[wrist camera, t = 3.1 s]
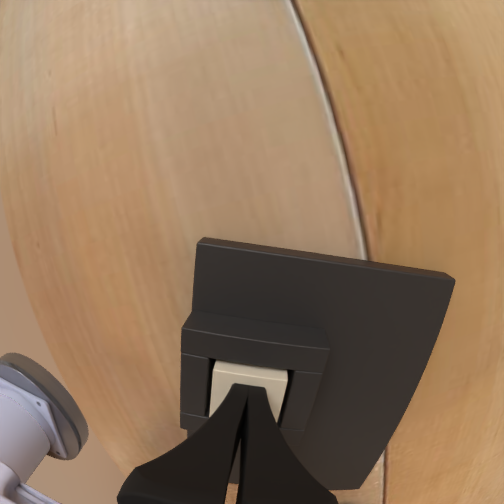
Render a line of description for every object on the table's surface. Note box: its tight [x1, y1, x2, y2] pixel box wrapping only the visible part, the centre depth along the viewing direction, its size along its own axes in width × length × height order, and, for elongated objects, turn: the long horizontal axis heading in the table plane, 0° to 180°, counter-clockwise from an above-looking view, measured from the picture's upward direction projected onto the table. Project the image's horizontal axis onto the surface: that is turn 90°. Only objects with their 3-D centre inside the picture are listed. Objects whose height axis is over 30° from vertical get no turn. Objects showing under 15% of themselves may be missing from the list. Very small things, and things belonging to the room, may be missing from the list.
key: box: [209, 359, 288, 423], centre depth 13 cm, size 3×3×2 cm
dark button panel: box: [180, 237, 455, 490], centre depth 14 cm, size 12×16×3 cm
